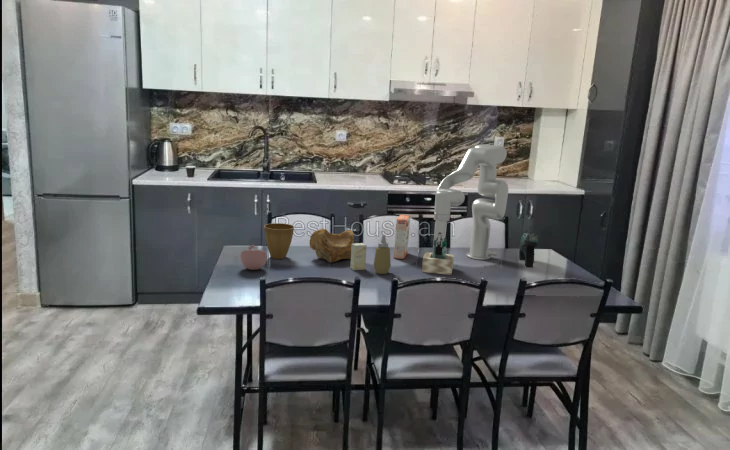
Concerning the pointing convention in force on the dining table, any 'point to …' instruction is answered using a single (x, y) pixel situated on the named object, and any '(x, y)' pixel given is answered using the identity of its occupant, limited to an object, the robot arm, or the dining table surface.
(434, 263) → the well block
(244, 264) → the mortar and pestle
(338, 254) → the rough brown rock
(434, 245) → the can
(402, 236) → the cracker box
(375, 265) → the squeeze bottle
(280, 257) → the plant pot
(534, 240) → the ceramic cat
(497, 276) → the dining table surface
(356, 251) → the skincare box
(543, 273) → the dining table surface
